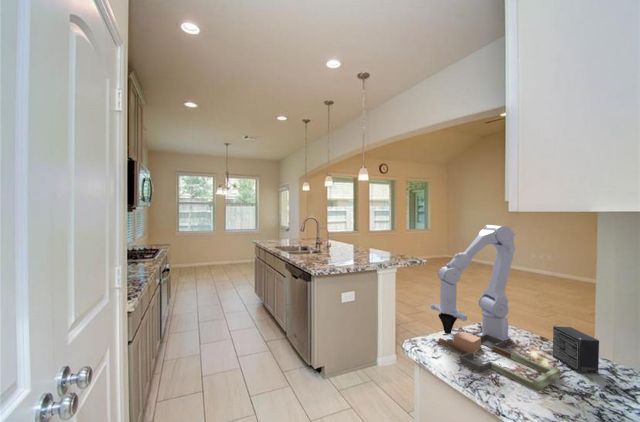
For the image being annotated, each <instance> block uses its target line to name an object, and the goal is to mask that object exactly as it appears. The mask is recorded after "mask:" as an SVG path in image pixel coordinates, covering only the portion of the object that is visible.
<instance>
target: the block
mask: <svg viewBox="0 0 640 422" xmlns="http://www.w3.org/2000/svg"><path fill="white" fill-rule="evenodd" d="M452 344H454V345H456V346H459V347H461V348H463V349H465V350H467V351H469V352H471V353H476V352H478V351H479V350H481V349H482V344H481V338H480V337H478V336H477V335H473V334H471V333H468V332H465V331H460V332H457V333H455V334H453V343H452Z"/></svg>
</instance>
